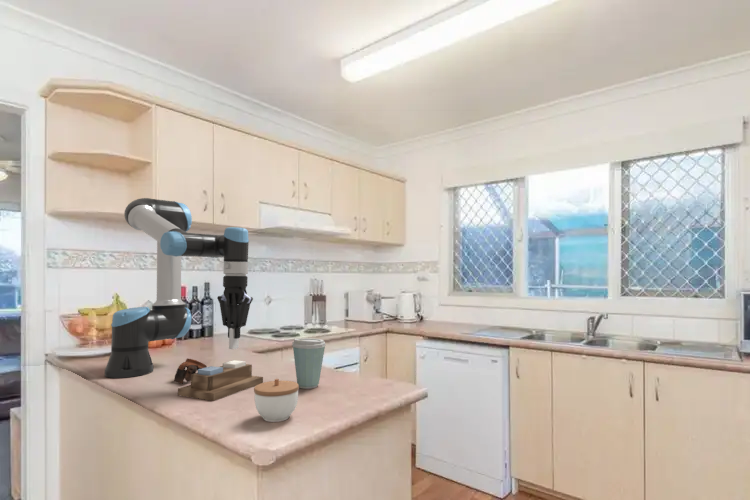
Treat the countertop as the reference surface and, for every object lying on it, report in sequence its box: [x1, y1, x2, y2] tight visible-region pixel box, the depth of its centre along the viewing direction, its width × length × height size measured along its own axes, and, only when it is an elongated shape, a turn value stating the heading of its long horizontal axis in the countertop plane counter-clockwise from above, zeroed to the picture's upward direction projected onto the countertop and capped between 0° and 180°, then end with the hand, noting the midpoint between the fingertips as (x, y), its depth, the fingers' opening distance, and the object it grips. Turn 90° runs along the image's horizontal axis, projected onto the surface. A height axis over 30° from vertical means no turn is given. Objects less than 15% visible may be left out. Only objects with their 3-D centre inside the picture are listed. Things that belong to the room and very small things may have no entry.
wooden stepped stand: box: [177, 363, 264, 402], centre depth 130 cm, size 14×21×6 cm, turn 156°
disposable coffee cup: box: [291, 337, 327, 390], centre depth 133 cm, size 11×11×15 cm
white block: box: [222, 359, 247, 369], centre depth 135 cm, size 5×5×4 cm
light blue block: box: [197, 365, 223, 376], centre depth 126 cm, size 5×5×4 cm
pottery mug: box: [173, 358, 208, 384], centre depth 141 cm, size 12×10×8 cm
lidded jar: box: [253, 378, 299, 423], centre depth 104 cm, size 11×11×9 cm
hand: (233, 348), depth 136 cm, fingers closed
